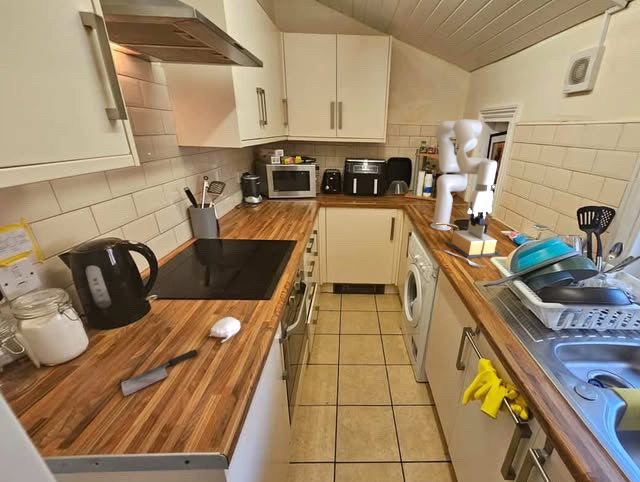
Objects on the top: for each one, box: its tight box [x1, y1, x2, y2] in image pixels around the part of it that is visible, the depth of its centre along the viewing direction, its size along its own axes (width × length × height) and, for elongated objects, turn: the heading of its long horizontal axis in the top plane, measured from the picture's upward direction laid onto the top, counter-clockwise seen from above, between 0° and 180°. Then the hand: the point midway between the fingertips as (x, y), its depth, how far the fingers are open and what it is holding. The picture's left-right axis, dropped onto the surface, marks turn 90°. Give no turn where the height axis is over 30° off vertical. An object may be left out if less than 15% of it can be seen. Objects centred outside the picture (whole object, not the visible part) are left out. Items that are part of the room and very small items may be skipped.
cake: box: [445, 229, 501, 259], centre depth 151 cm, size 20×18×7 cm
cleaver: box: [120, 348, 198, 397], centre depth 72 cm, size 16×1×5 cm
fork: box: [443, 249, 487, 268], centre depth 139 cm, size 3×24×2 cm, turn 30°
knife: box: [467, 214, 487, 240], centre depth 147 cm, size 12×3×10 cm, turn 14°
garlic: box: [208, 316, 241, 344], centre depth 86 cm, size 8×7×4 cm
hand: (476, 224), depth 147 cm, fingers closed on knife, 3 cm apart
